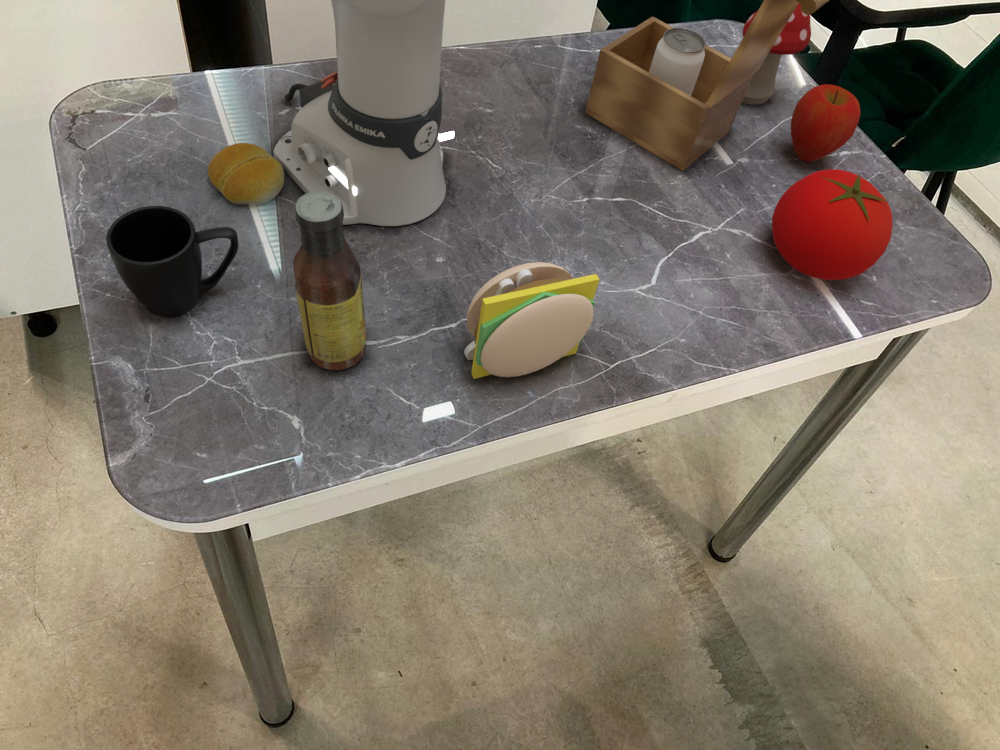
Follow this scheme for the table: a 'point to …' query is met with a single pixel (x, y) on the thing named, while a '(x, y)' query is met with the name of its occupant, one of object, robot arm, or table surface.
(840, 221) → the tomato
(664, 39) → the can
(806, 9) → the lid
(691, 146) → the box
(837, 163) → the table surface
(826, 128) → the apple
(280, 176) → the bread roll
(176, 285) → the mug
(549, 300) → the hamburger
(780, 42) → the decorative mushroom
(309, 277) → the sauce bottle
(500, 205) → the table surface
